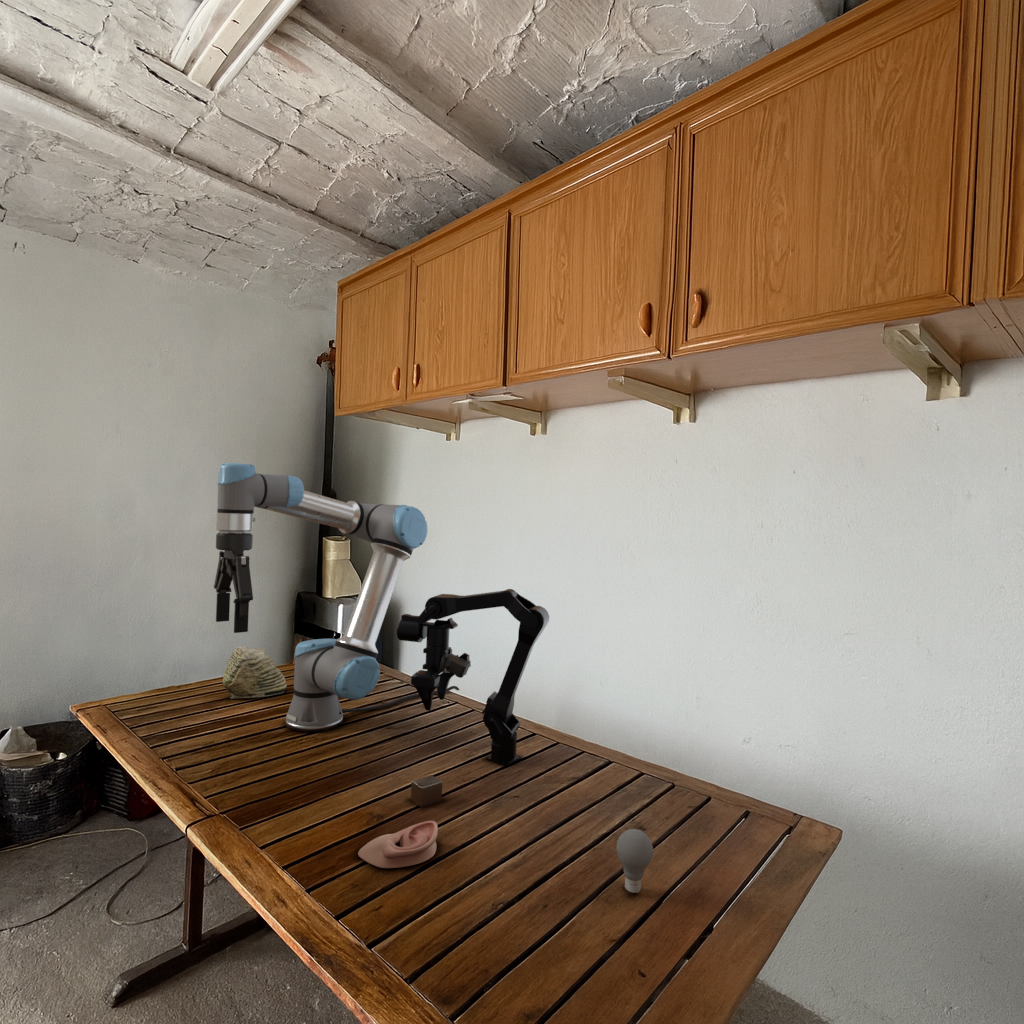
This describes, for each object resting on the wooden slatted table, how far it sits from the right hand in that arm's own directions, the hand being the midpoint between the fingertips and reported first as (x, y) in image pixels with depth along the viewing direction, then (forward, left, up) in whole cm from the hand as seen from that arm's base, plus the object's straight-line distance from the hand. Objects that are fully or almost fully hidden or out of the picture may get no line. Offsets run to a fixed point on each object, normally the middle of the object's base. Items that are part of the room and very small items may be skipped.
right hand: (435, 704), depth 162 cm
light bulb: (+23, +66, -11) cm, 70 cm away
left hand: (+41, -25, +22) cm, 53 cm away
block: (+22, +18, -11) cm, 30 cm away
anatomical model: (+40, +27, -11) cm, 49 cm away
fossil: (+5, -70, -11) cm, 71 cm away
